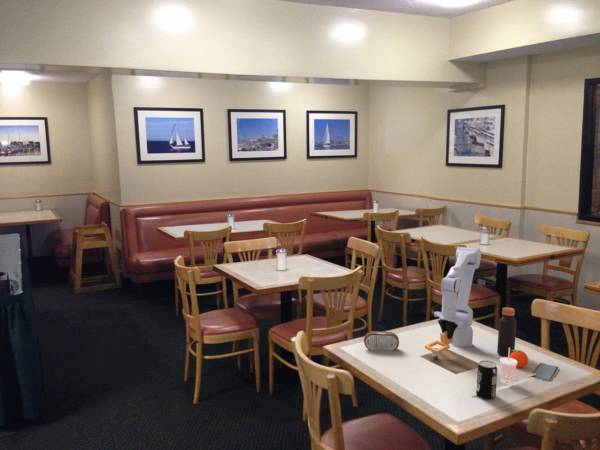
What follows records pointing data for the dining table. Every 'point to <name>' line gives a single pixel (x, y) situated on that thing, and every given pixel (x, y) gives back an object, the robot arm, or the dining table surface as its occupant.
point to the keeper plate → (452, 361)
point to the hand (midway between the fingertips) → (447, 337)
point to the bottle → (506, 332)
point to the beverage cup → (508, 370)
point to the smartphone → (545, 372)
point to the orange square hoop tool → (440, 343)
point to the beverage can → (486, 379)
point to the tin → (381, 340)
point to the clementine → (519, 358)
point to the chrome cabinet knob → (434, 355)
